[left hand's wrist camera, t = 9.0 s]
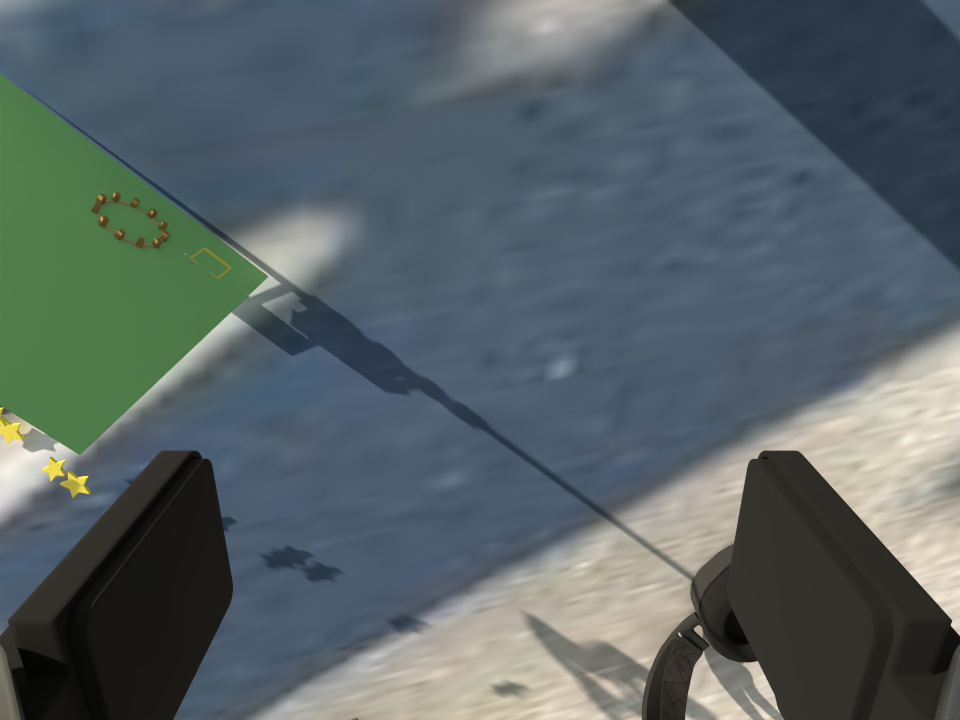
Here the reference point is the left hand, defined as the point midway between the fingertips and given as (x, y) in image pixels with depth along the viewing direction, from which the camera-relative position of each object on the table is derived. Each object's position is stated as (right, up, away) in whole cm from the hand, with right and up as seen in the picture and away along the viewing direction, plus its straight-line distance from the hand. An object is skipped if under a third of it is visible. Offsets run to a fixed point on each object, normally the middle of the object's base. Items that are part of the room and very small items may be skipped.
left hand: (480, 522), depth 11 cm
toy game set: (-31, +7, +37) cm, 49 cm away
